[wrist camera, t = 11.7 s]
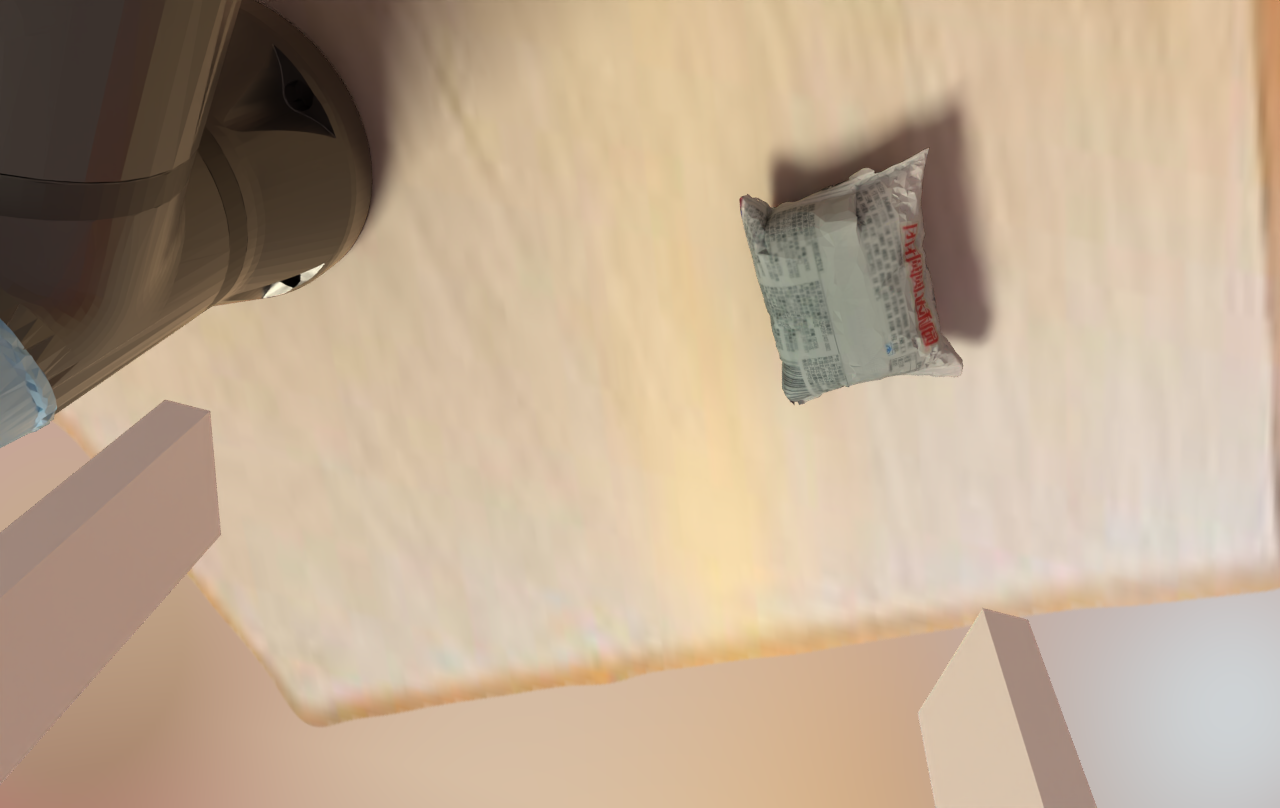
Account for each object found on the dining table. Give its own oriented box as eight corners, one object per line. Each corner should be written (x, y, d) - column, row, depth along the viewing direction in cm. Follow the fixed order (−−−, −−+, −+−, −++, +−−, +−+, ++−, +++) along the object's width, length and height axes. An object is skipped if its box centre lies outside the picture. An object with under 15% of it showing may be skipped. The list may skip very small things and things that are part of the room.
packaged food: (922, 134, 37) (937, 162, 33) (956, 358, 43) (974, 406, 38) (737, 184, 40) (729, 216, 36) (791, 390, 45) (790, 439, 41)
